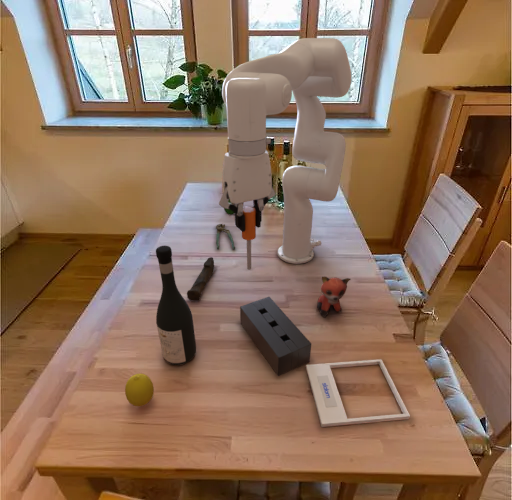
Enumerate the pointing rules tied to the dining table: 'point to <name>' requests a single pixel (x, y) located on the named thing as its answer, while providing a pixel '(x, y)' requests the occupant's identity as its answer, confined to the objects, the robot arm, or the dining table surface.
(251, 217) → the orange tool handle
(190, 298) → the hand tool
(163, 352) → the wine bottle
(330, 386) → the photo frame
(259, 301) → the rack
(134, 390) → the lemon
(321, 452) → the dining table surface
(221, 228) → the pliers
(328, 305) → the stuffed fox
